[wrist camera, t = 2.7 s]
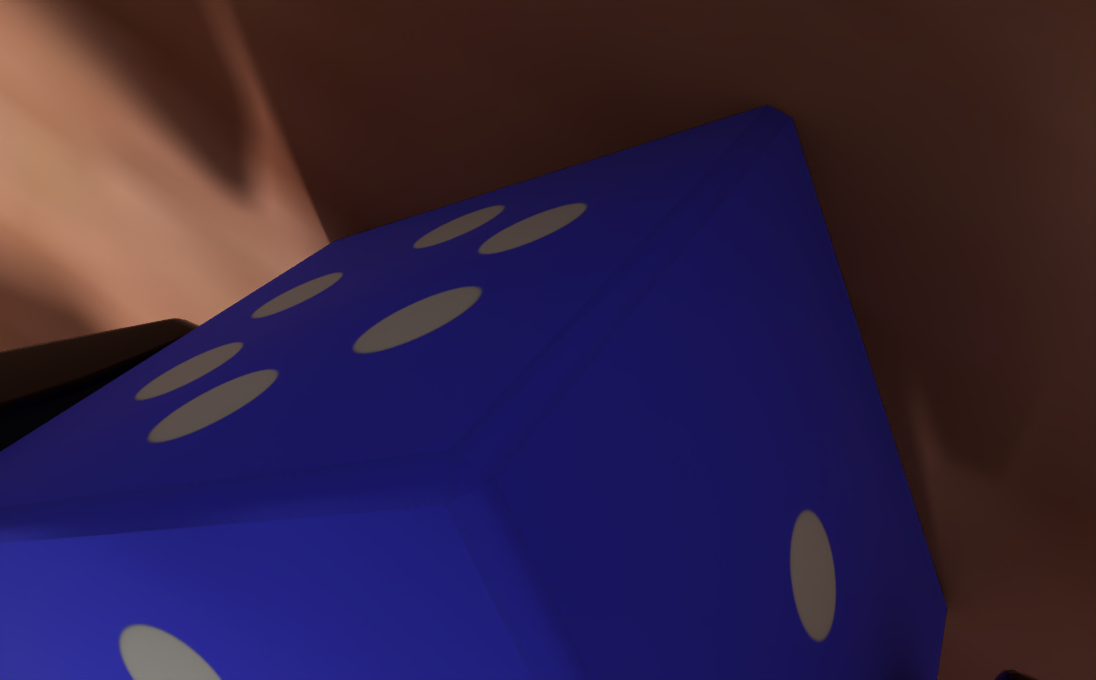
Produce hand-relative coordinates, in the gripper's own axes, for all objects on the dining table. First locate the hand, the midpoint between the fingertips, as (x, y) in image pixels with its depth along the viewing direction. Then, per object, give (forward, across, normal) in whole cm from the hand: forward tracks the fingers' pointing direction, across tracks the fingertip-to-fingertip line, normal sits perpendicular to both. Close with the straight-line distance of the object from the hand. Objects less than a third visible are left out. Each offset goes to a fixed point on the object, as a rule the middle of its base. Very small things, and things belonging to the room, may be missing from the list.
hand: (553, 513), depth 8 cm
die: (+2, 0, 0) cm, 2 cm away
